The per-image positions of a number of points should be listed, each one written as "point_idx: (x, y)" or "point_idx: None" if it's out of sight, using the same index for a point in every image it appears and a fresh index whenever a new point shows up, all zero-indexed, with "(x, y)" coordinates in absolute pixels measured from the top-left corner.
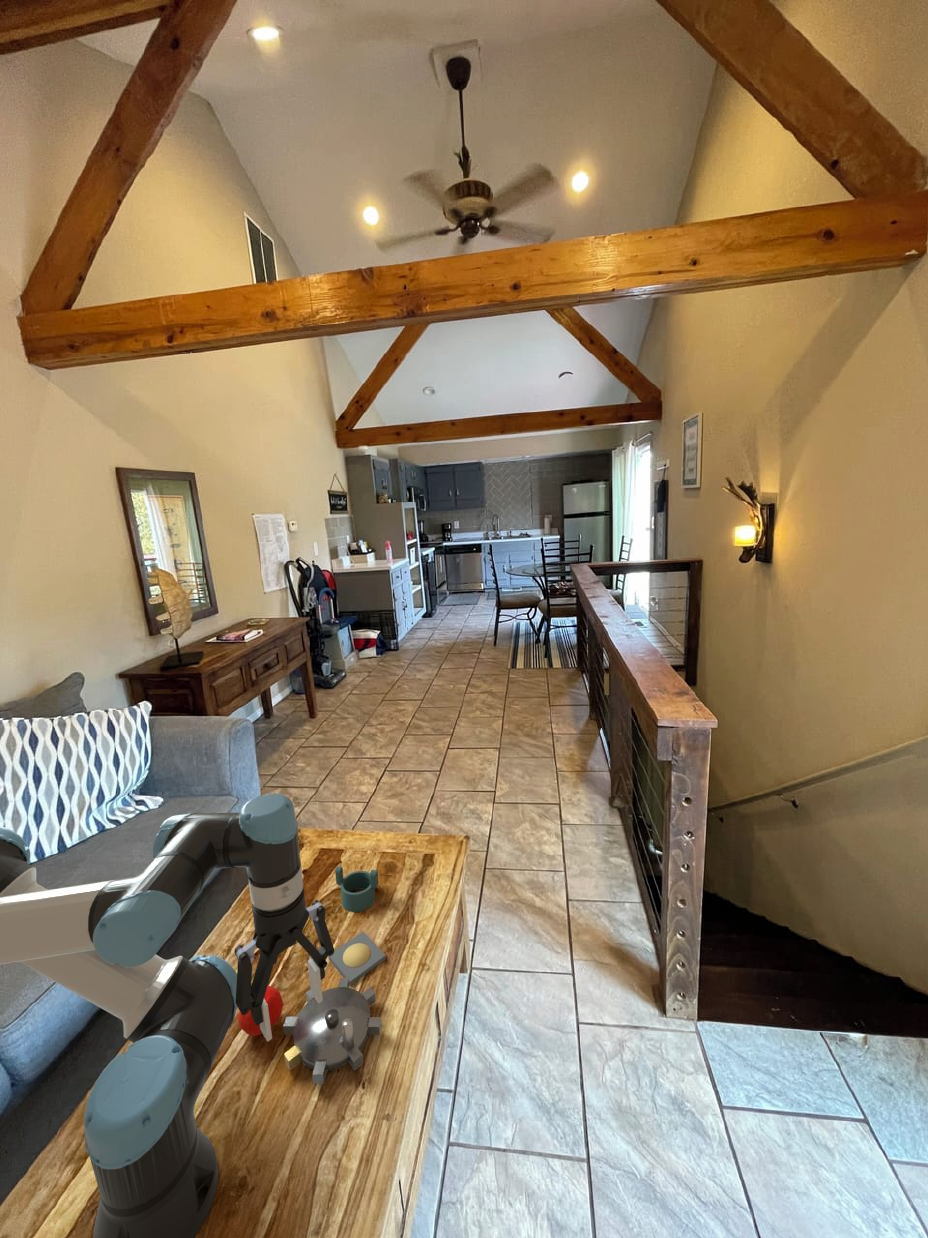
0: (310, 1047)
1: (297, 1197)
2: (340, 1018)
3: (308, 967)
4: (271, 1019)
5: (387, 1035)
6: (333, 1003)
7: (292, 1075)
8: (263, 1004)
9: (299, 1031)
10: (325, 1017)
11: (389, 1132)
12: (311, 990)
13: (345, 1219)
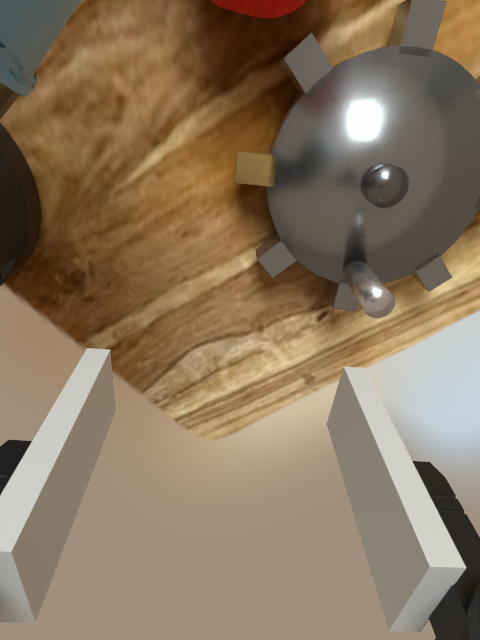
0: (294, 197)
1: (144, 358)
2: None
3: (404, 513)
4: (263, 14)
5: None
6: (427, 133)
7: None
8: (8, 614)
9: (305, 126)
10: (373, 178)
11: (295, 395)
12: (347, 390)
13: (184, 419)
